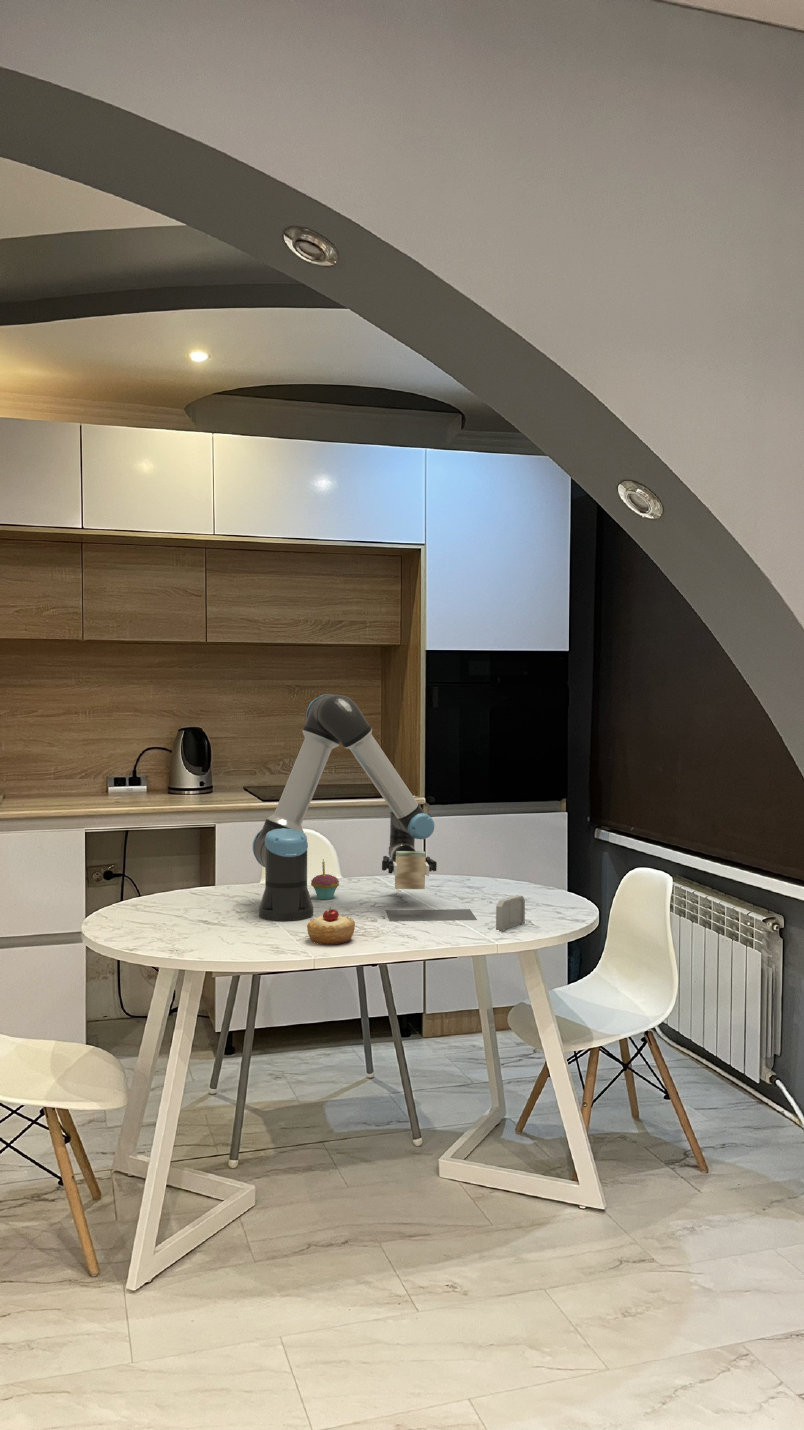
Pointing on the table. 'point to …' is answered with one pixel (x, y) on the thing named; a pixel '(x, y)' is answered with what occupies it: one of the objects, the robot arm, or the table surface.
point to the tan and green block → (410, 870)
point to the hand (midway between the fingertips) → (411, 870)
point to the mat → (430, 915)
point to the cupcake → (325, 884)
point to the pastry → (331, 928)
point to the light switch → (510, 912)
